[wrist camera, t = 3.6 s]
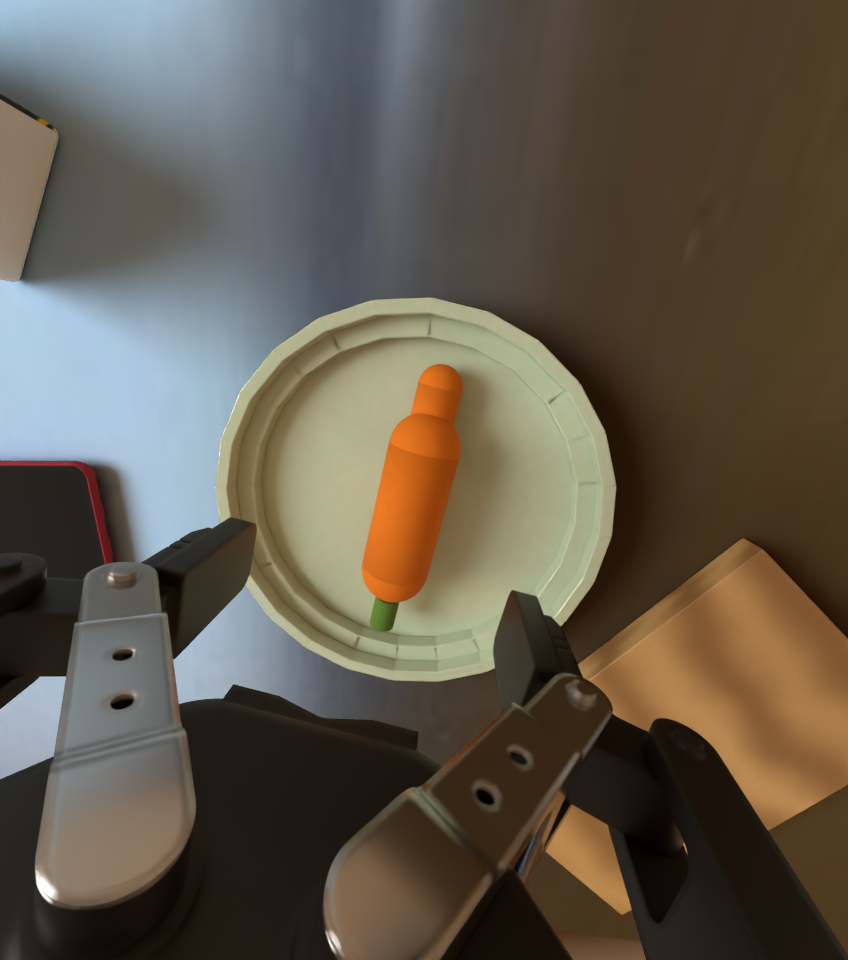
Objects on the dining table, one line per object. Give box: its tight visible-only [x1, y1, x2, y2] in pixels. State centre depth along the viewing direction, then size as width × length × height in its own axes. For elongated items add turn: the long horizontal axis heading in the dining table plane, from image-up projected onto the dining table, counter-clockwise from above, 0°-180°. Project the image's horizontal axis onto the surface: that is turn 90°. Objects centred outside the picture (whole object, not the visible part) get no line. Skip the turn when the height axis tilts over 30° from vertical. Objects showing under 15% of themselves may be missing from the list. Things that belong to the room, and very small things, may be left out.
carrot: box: [362, 364, 463, 632], centre depth 20 cm, size 13×3×3 cm, turn 166°
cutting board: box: [546, 538, 848, 915], centre depth 24 cm, size 20×14×2 cm
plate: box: [215, 297, 616, 682], centre depth 21 cm, size 18×18×2 cm
